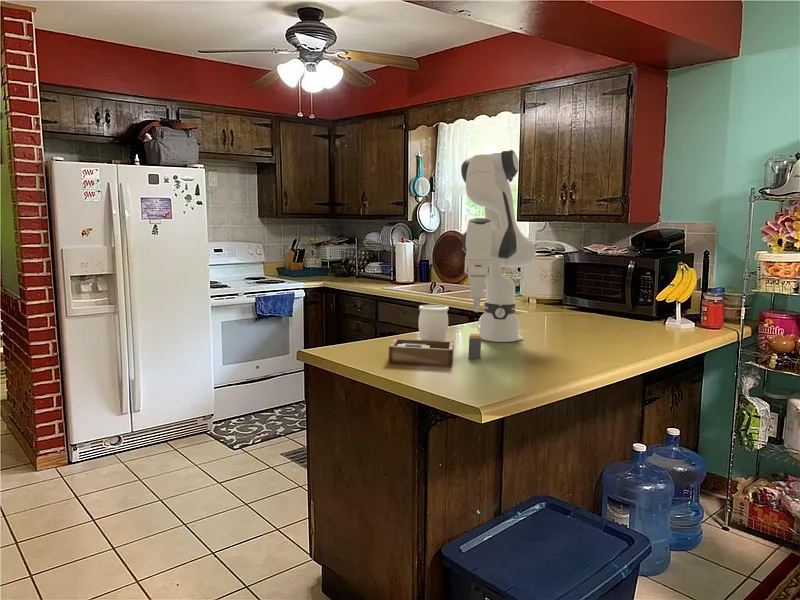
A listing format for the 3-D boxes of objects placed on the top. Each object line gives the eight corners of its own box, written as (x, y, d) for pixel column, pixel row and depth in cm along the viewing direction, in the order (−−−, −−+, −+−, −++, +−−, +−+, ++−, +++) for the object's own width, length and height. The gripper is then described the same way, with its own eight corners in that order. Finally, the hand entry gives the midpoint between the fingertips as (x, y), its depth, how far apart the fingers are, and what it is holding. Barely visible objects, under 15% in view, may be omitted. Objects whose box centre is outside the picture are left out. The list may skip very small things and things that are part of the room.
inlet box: (394, 354, 206) (394, 338, 205) (453, 357, 203) (453, 341, 202) (388, 363, 193) (389, 346, 192) (451, 367, 190) (452, 350, 190)
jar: (449, 346, 221) (451, 305, 219) (444, 352, 211) (445, 309, 209) (421, 343, 224) (422, 303, 222) (414, 349, 214) (415, 307, 212)
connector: (468, 356, 206) (469, 333, 205) (480, 356, 205) (481, 333, 204) (468, 358, 202) (469, 335, 201) (480, 359, 202) (481, 335, 200)
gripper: (468, 265, 210) (467, 305, 212) (467, 270, 190) (466, 313, 192) (487, 266, 209) (485, 305, 211) (488, 270, 189) (486, 314, 191)
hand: (476, 309), depth 201 cm, fingers open, 8 cm apart
